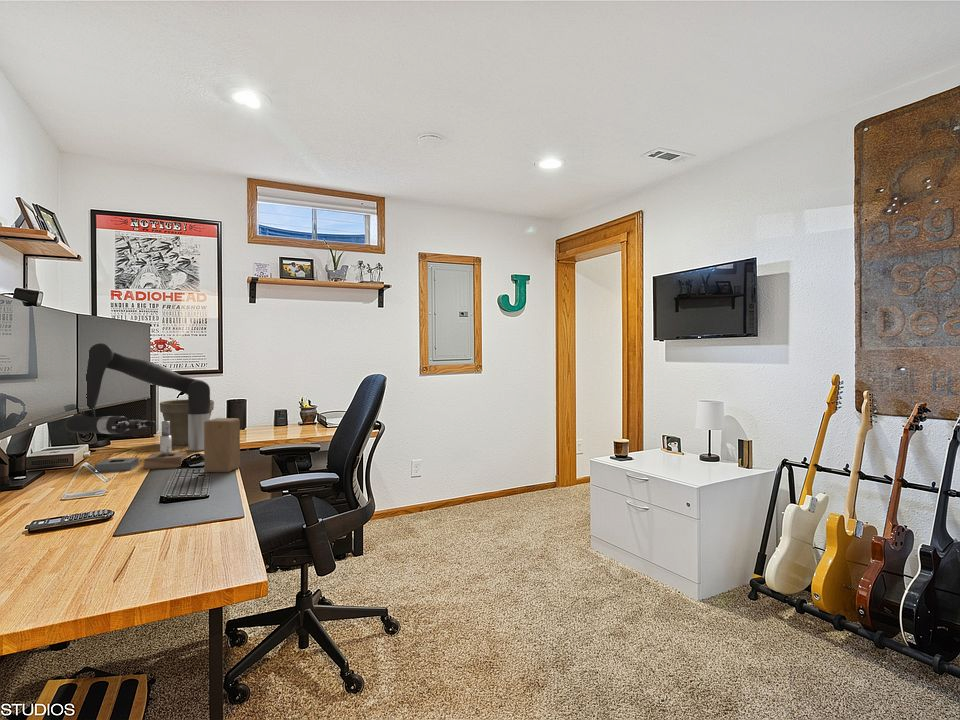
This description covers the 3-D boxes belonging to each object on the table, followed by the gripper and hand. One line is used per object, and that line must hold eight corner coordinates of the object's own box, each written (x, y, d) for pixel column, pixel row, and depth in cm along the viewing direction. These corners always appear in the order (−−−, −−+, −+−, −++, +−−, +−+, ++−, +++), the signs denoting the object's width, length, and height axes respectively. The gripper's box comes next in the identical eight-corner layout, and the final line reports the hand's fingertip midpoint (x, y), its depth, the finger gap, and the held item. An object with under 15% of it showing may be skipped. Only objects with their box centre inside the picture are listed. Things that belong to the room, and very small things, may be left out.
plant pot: (208, 445, 271) (208, 402, 271) (153, 448, 265) (152, 403, 265) (218, 438, 295) (218, 398, 295) (168, 440, 289) (167, 399, 289)
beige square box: (151, 463, 227) (151, 453, 227) (186, 461, 231) (186, 451, 231) (144, 469, 215) (144, 459, 215) (181, 466, 219) (181, 457, 219)
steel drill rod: (161, 464, 224) (161, 421, 224) (172, 463, 226) (172, 420, 225) (159, 466, 220) (159, 422, 220) (170, 465, 222) (170, 421, 222)
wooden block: (229, 472, 208) (228, 420, 208) (203, 472, 208) (202, 420, 208) (241, 467, 218) (240, 417, 218) (216, 467, 218) (216, 417, 218)
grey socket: (104, 466, 220) (104, 459, 220) (138, 464, 224) (138, 457, 224) (94, 472, 209) (94, 464, 209) (130, 470, 213) (130, 462, 213)
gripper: (97, 418, 222) (132, 418, 219) (126, 414, 236) (159, 414, 233) (98, 436, 222) (133, 436, 219) (127, 431, 236) (159, 431, 233)
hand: (146, 425), depth 226 cm, fingers open, 8 cm apart
